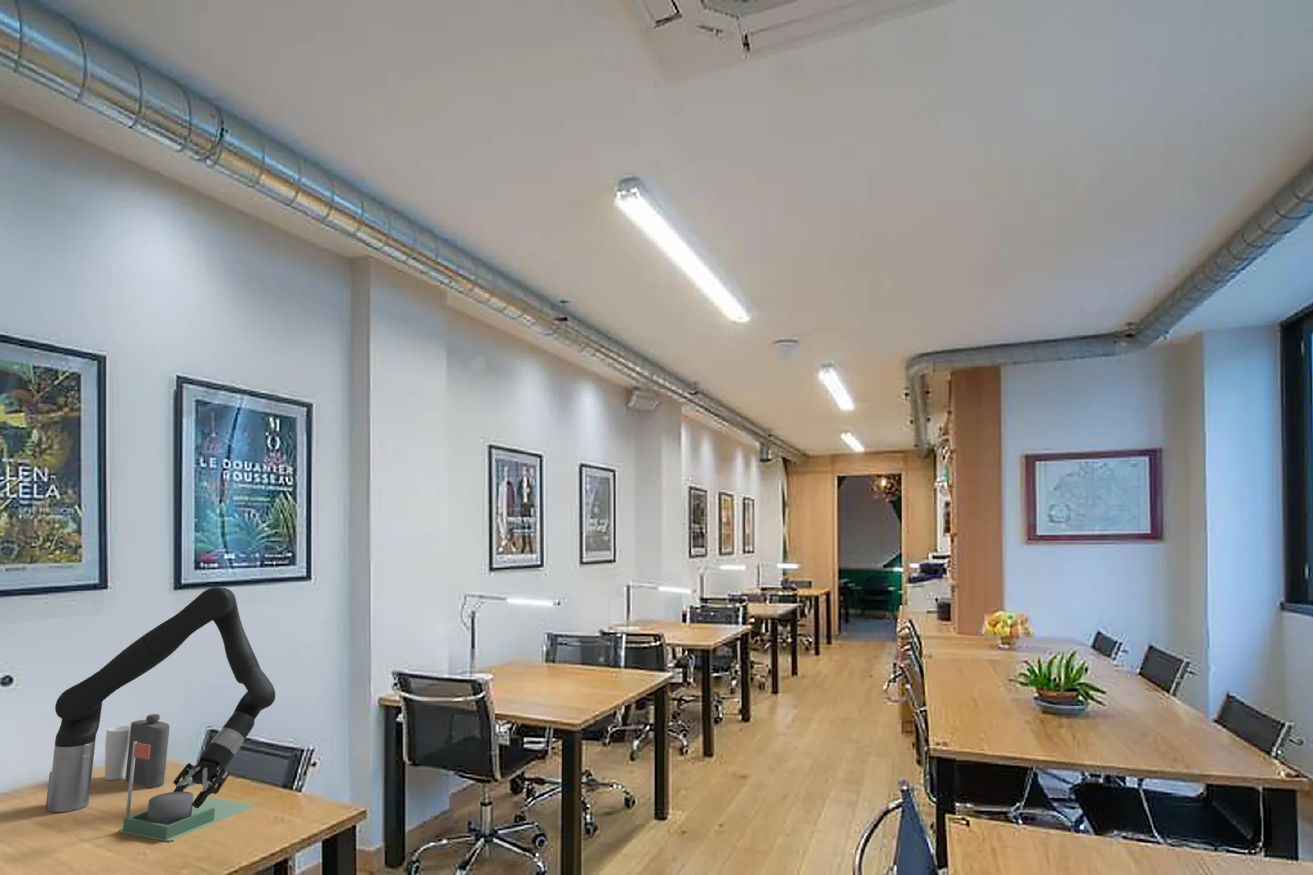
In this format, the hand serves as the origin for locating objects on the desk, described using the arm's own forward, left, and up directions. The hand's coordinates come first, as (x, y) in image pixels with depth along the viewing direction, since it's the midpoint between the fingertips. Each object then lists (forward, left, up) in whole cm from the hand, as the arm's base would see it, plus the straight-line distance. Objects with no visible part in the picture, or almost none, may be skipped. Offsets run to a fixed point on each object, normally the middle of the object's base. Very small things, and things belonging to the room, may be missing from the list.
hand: (182, 804), depth 207 cm
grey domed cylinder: (0, -4, -4) cm, 6 cm away
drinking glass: (-50, +19, -5) cm, 54 cm away
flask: (-38, +20, -5) cm, 43 cm away
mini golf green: (0, +3, -5) cm, 5 cm away
